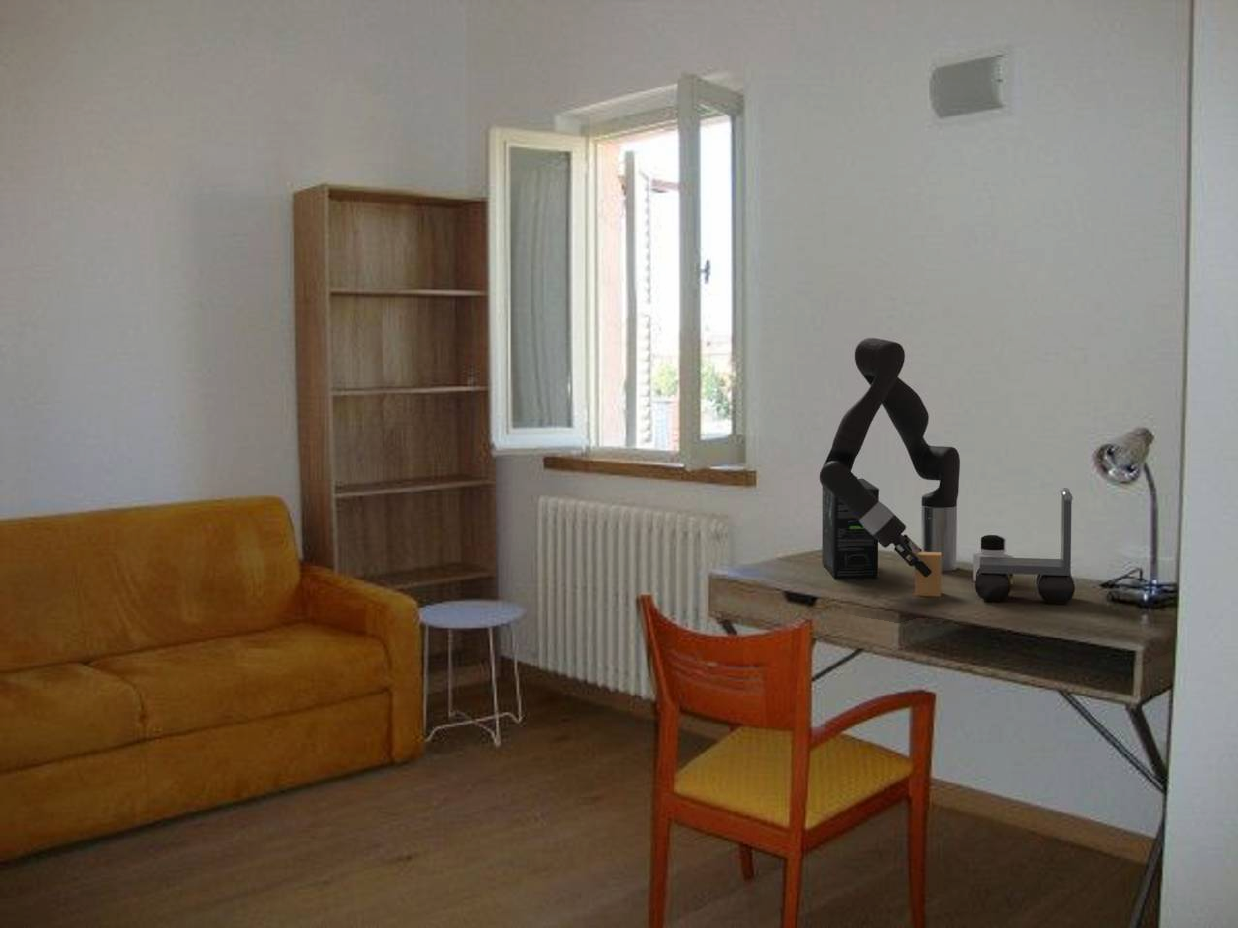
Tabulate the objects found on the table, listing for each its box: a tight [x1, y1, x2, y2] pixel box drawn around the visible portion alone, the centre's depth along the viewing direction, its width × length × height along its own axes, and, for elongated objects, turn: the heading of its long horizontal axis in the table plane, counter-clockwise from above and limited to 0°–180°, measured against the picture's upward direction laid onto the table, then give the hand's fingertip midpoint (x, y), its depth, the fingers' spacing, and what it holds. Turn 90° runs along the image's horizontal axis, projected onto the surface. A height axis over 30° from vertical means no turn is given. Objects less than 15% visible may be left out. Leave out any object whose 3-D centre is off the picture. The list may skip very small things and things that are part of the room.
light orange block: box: [914, 552, 943, 597], centre depth 298 cm, size 4×6×10 cm
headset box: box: [821, 475, 880, 580], centre depth 330 cm, size 22×12×26 cm, turn 179°
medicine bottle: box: [972, 534, 1014, 585], centre depth 311 cm, size 7×7×12 cm
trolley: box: [974, 487, 1076, 606], centre depth 289 cm, size 12×22×26 cm, turn 73°
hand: (930, 571), depth 298 cm, fingers open, 8 cm apart
